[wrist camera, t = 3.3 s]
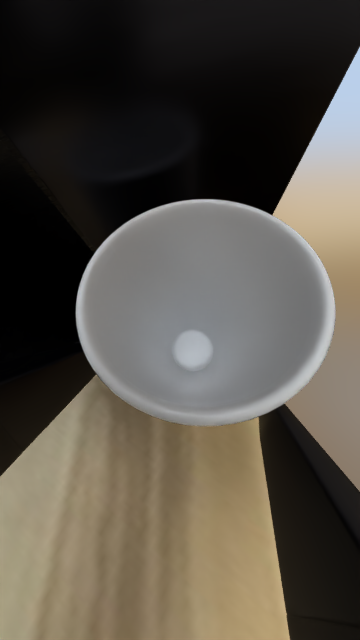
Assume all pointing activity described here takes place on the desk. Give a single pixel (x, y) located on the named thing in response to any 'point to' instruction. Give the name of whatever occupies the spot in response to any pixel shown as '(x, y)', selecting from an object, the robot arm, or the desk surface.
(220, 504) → the desk surface
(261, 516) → the desk surface
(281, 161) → the microwave
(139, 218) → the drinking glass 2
